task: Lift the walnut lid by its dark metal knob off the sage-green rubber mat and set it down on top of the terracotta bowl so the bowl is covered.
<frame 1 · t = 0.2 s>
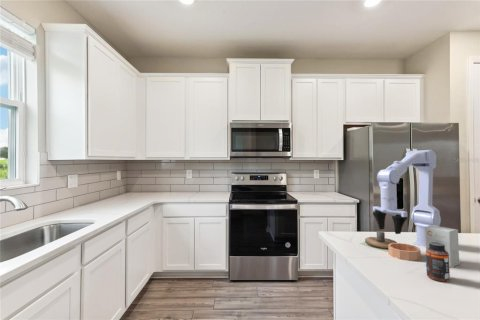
hand: (389, 231, 102), 10 cm above the countertop, tool pointing down, fingers open, 7 cm apart
mat: (380, 245, 114), on the countertop
small box: (442, 263, 94), on the countertop
lid: (380, 238, 114), on the mat
bowl: (404, 257, 100), on the countertop
supplement bottle: (438, 278, 81), on the countertop
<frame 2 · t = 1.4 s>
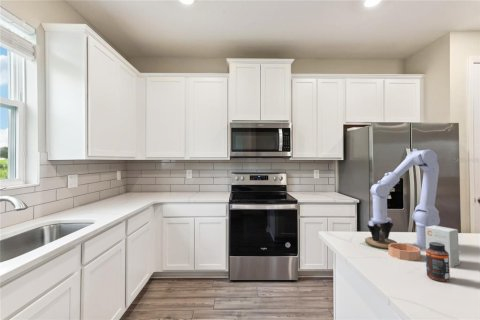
hand: (380, 239, 114), 3 cm above the countertop, tool pointing down, fingers open, 7 cm apart
nothing on the countertop moved.
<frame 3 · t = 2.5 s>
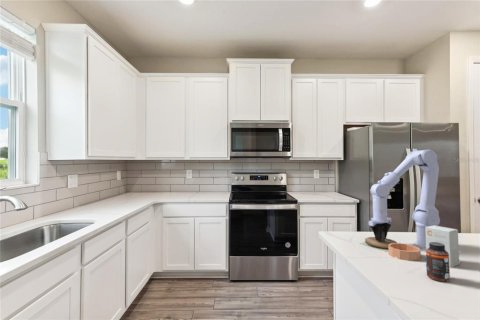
hand: (380, 239, 114), 3 cm above the countertop, tool pointing down, fingers closed on lid, 3 cm apart
lid: (380, 238, 114), on the mat, touching gripper
everything else where it was.
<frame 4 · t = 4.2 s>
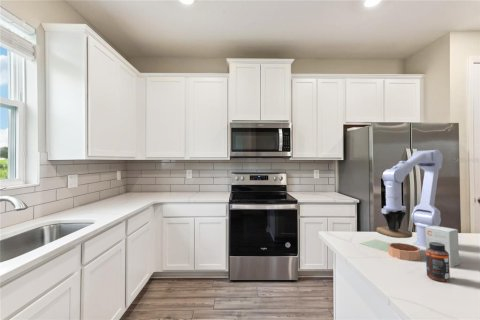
hand: (394, 229, 105), 10 cm above the countertop, tool pointing down, fingers closed on lid, 3 cm apart
lid: (393, 228, 105), point 10 cm above the countertop, touching gripper
everything else where it was.
when the fingers open (7 cm above the countertop, at t = 5.8 s): lid drops 1 cm, resting on bowl.
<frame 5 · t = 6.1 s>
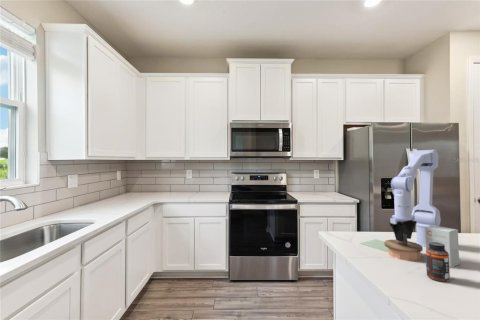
hand: (403, 239, 100), 7 cm above the countertop, tool pointing down, fingers open, 6 cm apart
lid: (402, 241, 101), point 6 cm above the countertop, touching bowl
bowl: (404, 257, 100), on the countertop, touching lid
everything else where it was.
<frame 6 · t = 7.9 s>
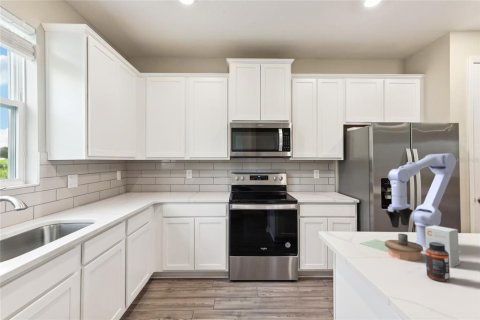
hand: (399, 226, 110), 10 cm above the countertop, tool pointing down, fingers open, 7 cm apart
nothing on the countertop moved.
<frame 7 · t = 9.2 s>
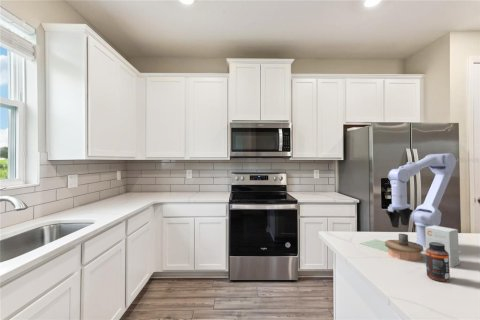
hand: (399, 226, 110), 10 cm above the countertop, tool pointing down, fingers open, 7 cm apart
nothing on the countertop moved.
at the end: lid 0.1 cm off-centre on the bowl, point 6.1 cm above the bowl's base; lid tilted 0°; the gripper is holding nothing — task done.
